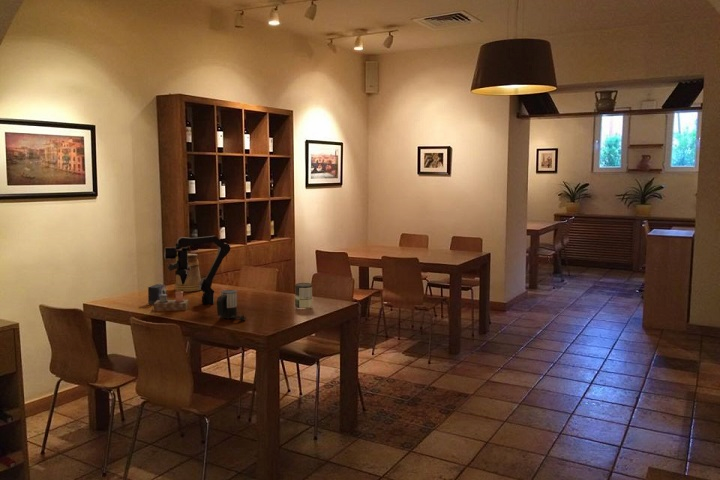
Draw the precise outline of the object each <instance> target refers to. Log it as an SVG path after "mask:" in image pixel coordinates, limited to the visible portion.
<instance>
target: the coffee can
mask: <svg viewBox="0 0 720 480" xmlns="http://www.w3.org/2000/svg"><path fill="white" fill-rule="evenodd" d="M294 288H295V289H294V291H295V295H294V299H295V300H294V302H295V303H294V305H295V306H294V308H295V307H296V308H311V307H312V308H313V283H309V282H298V283H295V284H294ZM296 308H295V309H296ZM312 308H311V309H312Z"/></svg>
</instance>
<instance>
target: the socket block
mask: <svg viewBox="0 0 720 480" xmlns="http://www.w3.org/2000/svg"><path fill="white" fill-rule="evenodd" d="M189 305H190V304H189V299H183V302H181V303H176V299H167V303H160V300H157V301H156V302H155V303H154V304H153V311H154V312H158V311H159V312H160V311H161V312H163V311H165V312H166V311H187V309H188V308H189V307H190V306H189Z"/></svg>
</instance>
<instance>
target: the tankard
mask: <svg viewBox="0 0 720 480" xmlns="http://www.w3.org/2000/svg"><path fill="white" fill-rule="evenodd" d="M177 260H178V251H177V257H175V263H177ZM199 264H200V262H199V259H198V254H197V253H188V265H189V266H190V270H187V272H189V273H188V276H187V278H186V281H185V284H182V281H181V278H180V276H179V275H176V277H175V278H176V279H175V284H174V291H175V292H176V291H183V293H185V292H187V293H189V292H197V291H202V290H201V289H200V287H199V285H200V284H199V282H200V281H201V279H202V277H201V272H200V266H199Z"/></svg>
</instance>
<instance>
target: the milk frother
mask: <svg viewBox="0 0 720 480" xmlns="http://www.w3.org/2000/svg"><path fill="white" fill-rule="evenodd" d="M237 295H238V290H235V289H224V290H223V289H222V290H221V291H220V295H219V296H218V297H217V299H216V310H217V311H216V312H217V313H216V314H217V316H218V317H220V319H222V318H227V319H226V320H230V319H229V318H234V319H238V318H239V320H241V321H244V320H246V319H247V318H246V317H245V315H241V314H240V315H238V305H237V304H238V296H237Z"/></svg>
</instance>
